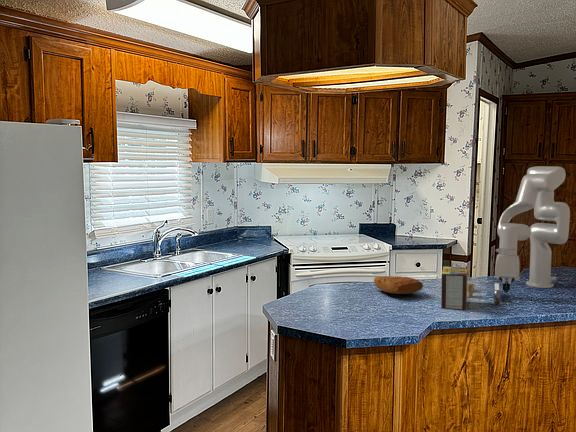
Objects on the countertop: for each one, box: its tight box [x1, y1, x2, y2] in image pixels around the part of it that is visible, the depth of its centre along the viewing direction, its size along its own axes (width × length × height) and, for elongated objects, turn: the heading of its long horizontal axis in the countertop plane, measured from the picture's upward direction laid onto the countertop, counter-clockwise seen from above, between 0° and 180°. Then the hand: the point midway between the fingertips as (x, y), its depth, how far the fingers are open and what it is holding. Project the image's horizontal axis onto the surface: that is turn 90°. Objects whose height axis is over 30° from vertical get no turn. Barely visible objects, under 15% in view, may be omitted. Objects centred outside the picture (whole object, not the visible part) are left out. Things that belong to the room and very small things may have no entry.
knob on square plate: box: [488, 289, 506, 307], centre depth 228 cm, size 5×5×6 cm
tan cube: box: [467, 281, 475, 292], centre depth 251 cm, size 4×4×4 cm
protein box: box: [440, 266, 468, 311], centre depth 227 cm, size 10×15×16 cm
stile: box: [467, 283, 474, 298], centre depth 241 cm, size 3×3×6 cm
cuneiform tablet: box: [373, 275, 424, 295], centre depth 247 cm, size 22×17×8 cm
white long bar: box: [494, 282, 500, 290], centre depth 237 cm, size 14×2×5 cm, turn 159°
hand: (506, 291), depth 237 cm, fingers closed
